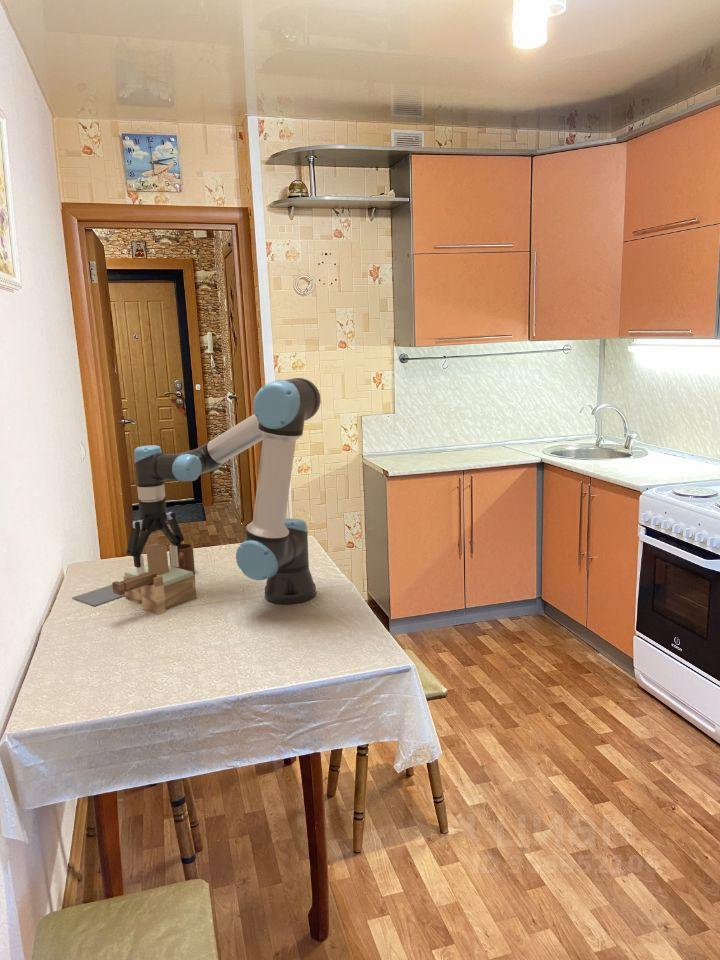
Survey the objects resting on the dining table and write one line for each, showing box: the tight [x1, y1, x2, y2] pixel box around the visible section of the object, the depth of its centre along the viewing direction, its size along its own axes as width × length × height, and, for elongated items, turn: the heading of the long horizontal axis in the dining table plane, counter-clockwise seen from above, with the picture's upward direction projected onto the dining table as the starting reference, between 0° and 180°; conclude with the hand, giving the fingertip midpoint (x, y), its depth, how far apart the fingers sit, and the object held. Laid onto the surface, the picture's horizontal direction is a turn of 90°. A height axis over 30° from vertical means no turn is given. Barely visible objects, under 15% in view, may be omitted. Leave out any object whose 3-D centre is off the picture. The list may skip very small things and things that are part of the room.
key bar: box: [111, 572, 157, 595], centre depth 197 cm, size 3×12×3 cm, turn 142°
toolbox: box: [122, 572, 198, 615], centre depth 210 cm, size 19×14×10 cm
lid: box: [124, 542, 194, 586], centre depth 210 cm, size 18×11×10 cm, turn 52°
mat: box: [71, 584, 125, 608], centre depth 218 cm, size 12×20×1 cm, turn 142°
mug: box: [168, 543, 195, 575], centre depth 231 cm, size 12×8×9 cm, turn 15°
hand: (158, 571), depth 210 cm, fingers closed on lid, 11 cm apart
